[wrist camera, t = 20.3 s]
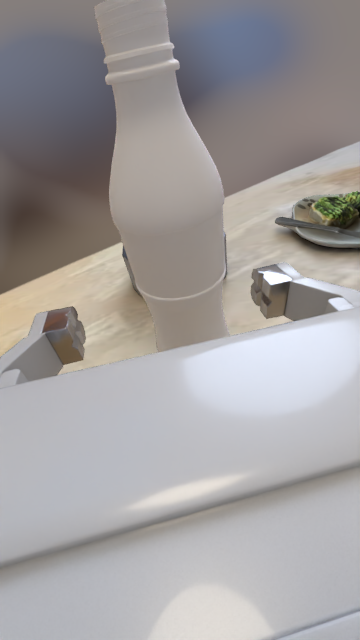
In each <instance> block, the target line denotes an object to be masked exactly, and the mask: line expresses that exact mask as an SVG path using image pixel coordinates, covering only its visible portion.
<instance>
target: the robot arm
mask: <svg viewBox="0 0 360 640" xmlns="http://www.w3.org/2000/svg"><path fill="white" fill-rule="evenodd" d="M252 279H253V280H254V283H253V284H252V285H251V296H252V299H253V301H254V303H255V304H256V305H258V306H260V311H261V312H262V314H263V315H264V316H265V318H266V319H268V318H273V317H278V316H283V315H284V316H285V317H287V318H289V319H291V320H293V322H289V323H284V324H280V325H275V326H271V327H267V328H262V329H258V330H254V331H249V332H245V333H240V334H236V335H232V336H227V337H223V338H218V339H214V340H210V341H205V342H201V343H197V344H192V345H188V346H183V347H179V348H175V349H170V350H166V351H161V352H157V353H153V354H148V355H144V356H139V357H135V358H131V359H126V360H122V361H118V362H113V363H109V364H104V365H100V366H96V367H91V368H87V369H82V370H78V371H74V372H69V373H65V374H61V375H57V374H58V373H59V371H60V370H61V369H62V367H63V365H65V364H69V363H73V362H77V361H81V360H83V358H84V347H83V344H84V343H85V339H86V337H85V330H84V327H83V325H82V322H80V321H79V320H77V316H78V314H77V311H76V309H75V308H74V307H73V306H72V307H67V308H62V309H56V310H51V311H45V312H41V313H37V314H36V315H35V318H34V321H33V323H32V326H31V329H30V331H29V334H28V337H26V338H23V339H22V340H21V341H19V342H18V343H17V344H16V345H14V346H13V347H12V348H11V349H10V350H8V351H7V352H6V353H5V354H3V355H2V356H1V357H0V640H360V291H358V290H354V289H351V288H347V287H343V286H339V285H335V284H332V283H328V282H324V281H320V280H316V279H313V278H309V277H307V278H304V277H303V276H302V275H301V274H300V273H298V272H297V271H296V270H295V269H294V268H293V267H291V266H290V265H289V264H288V263H286V262H282V263H278V264H274V265H270V266H266V267H262V268H257V269H253V271H252Z"/></svg>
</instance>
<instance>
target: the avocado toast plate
mask: <svg viewBox="0 0 360 640" xmlns="http://www.w3.org/2000/svg"><path fill="white" fill-rule="evenodd" d="M292 217H293V219H290V218H285V217H279V218H277V219H276V220H275V223H276V224H278V225H281V226H284V227H288V228H290V229H292V230H293V231H295V232H296V233H298V234H299V235H300V236H301V237H303V238H305V239H307V240H309V241H311V242H313V243H316V244H318V245H323V246H328V247H334V248H360V192H358V191H356V192H352V193H347V194H336V195H333V194H332V195H331V194H329V195H315V196H310V197H306V198H304V199H302V200H300V201H298V202H297V203H296V204H295V205H294V206H293V212H292Z"/></svg>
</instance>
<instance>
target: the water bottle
mask: <svg viewBox="0 0 360 640" xmlns="http://www.w3.org/2000/svg"><path fill="white" fill-rule="evenodd" d="M94 9H95V13H96V14H95V17H96V20H97V21H98V26H99V27H98V31H99V32H100V34H101V37H102V39H101V42H102V44H103V45H104V50H105V54H106V57H105V59H104V64H105V63H107V66H108V71H109V73H108V74H107V76H106V77H105V81H106V84H107V85H110V84H112V88H113V93H114V97H115V105H116V114H117V131H116V139H115V147H114V154H113V160H112V167H111V176H110V187H109V201H110V209H111V215H112V219H113V222H114V224H115V226H116V227H117V228H118V231H119V234H120V237H121V240H122V243H123V246H124V249H125V251H126V254H127V257H128V260H129V263H130V266H131V269H132V272H133V275H134V278H135V284H136V287H137V289H138V291H139V292H140V293H141V295H142V296H143V298H144V300H145V302H146V304H147V306H148V308H149V311H150V313H151V316H152V319H153V322H154V326H155V332H156V345H157V350H158V352H161V351H166V350H170V349H175V348H179V347H183V346H188V345H192V344H197V343H201V342H205V341H210V340H214V339H218V338H223V337H227V336H230V335H229V330H228V327H227V324H226V321H225V317H224V313H223V308H222V284H223V279H224V276H225V272H226V263H225V250H224V227H223V204H224V193H223V187H222V183H221V179H220V176H219V173H218V171H217V168H216V166H215V164H214V162H213V160H212V158H211V156H210V154H209V153H208V151H207V149H206V147H205V145H204V143H203V142H202V140H201V138H200V137H199V135H198V133H197V132H196V130H195V128H194V126H193V125H192V123H191V121H190V119H189V117H188V115H187V113H186V111H185V108H184V106H183V103H182V101H181V97H180V94H179V90H178V86H177V81H176V75H175V70H177V69H179V67H180V66H179V62H178V61H177V60H176V59H174V58H173V53H172V48H174V45H173V44H172V43H170V40H169V33H168V26H167V23H168V19H167V18H166V10H167V7H166V6H165V1H164V0H106V1H104V2H102V3H99V4H98V5H96V6H95V7H94Z"/></svg>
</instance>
